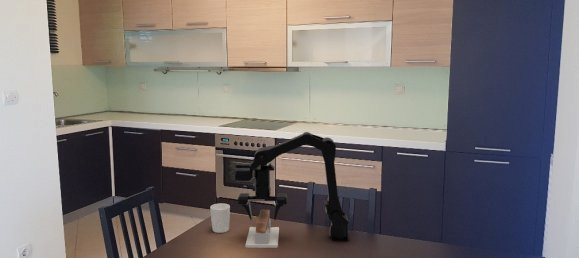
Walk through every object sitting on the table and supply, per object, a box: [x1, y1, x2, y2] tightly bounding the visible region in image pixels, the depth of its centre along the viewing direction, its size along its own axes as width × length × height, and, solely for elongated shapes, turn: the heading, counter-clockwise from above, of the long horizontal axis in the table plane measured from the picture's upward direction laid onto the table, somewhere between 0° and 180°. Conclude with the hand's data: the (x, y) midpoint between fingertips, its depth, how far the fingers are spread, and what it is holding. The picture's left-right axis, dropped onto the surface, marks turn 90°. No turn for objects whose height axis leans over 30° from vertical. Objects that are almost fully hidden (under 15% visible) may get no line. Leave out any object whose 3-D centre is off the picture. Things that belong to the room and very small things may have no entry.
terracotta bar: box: [255, 209, 271, 234], centre depth 182 cm, size 4×15×4 cm, turn 176°
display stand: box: [245, 219, 280, 249], centre depth 183 cm, size 12×18×5 cm, turn 179°
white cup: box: [209, 203, 231, 234], centre depth 191 cm, size 8×8×10 cm
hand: (263, 219), depth 182 cm, fingers open, 9 cm apart
